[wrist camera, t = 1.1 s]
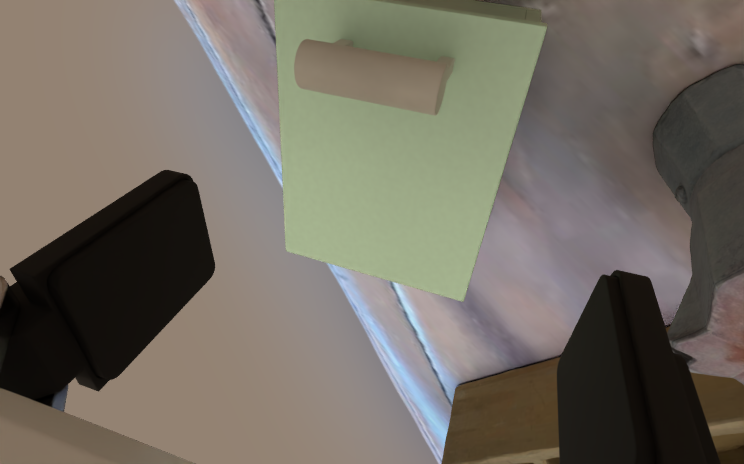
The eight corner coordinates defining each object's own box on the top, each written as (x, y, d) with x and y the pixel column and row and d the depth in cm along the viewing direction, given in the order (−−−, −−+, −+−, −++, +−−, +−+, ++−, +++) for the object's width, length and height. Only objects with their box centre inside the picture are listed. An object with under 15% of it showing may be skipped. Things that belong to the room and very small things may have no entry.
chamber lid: (280, -17, 21) (213, -3, 17) (547, 23, 19) (549, 52, 14) (290, 244, 31) (249, 296, 27) (465, 294, 28) (451, 360, 24)
